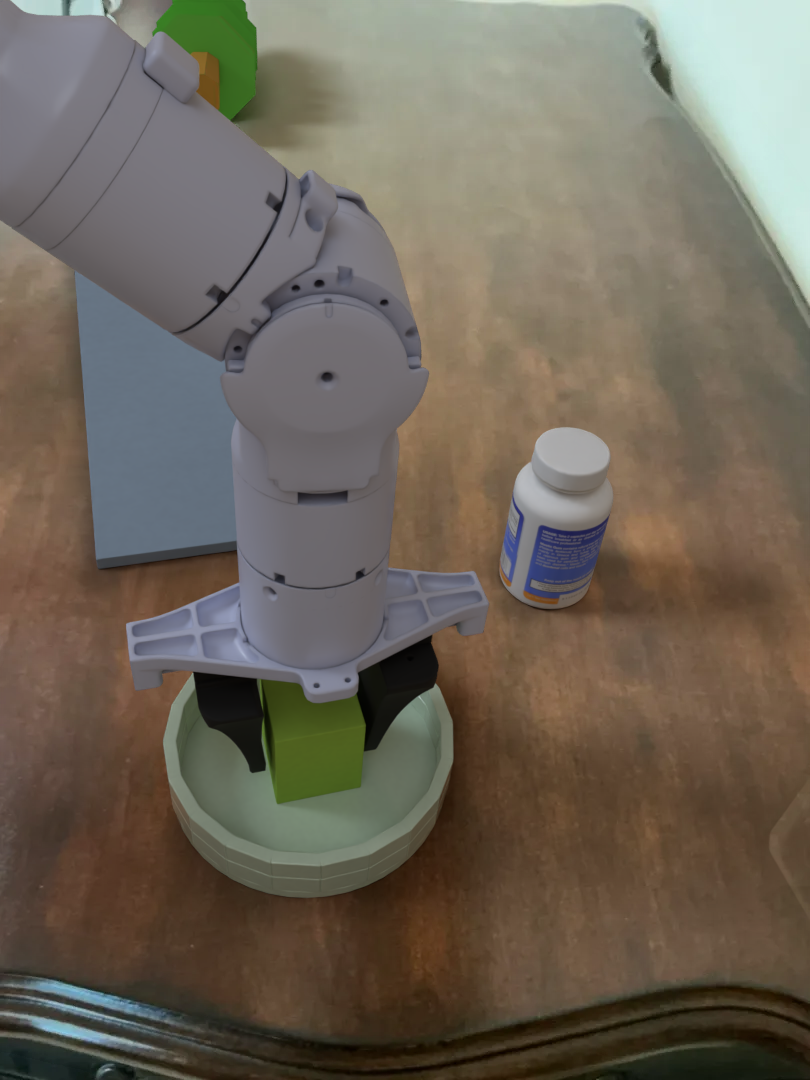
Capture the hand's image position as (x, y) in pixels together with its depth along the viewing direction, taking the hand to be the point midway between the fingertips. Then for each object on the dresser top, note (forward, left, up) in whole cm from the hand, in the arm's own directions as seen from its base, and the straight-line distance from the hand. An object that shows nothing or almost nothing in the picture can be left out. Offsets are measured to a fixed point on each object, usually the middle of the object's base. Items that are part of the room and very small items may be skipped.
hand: (310, 743), depth 45 cm
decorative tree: (-44, +75, -2) cm, 87 cm away
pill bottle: (+8, +17, -2) cm, 19 cm away
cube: (0, 0, -1) cm, 1 cm away
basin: (0, 0, -2) cm, 2 cm away
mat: (-22, +25, -2) cm, 34 cm away
